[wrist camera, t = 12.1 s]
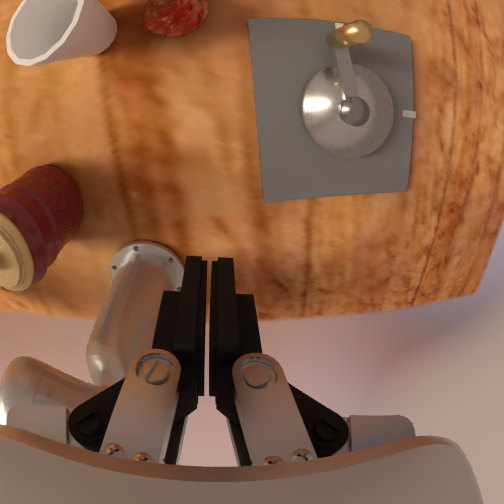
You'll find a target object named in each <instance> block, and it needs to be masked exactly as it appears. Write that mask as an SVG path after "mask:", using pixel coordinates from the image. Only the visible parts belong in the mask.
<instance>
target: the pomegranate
mask: <svg viewBox="0 0 504 504" xmlns="http://www.w3.org/2000/svg"><path fill="white" fill-rule="evenodd" d="M208 8H209V6H208V3H207V1H206V0H149V1H148V3H147V5H146V7H145V12H144V24H145V26H146V27H147V28H148V29H149V30H150V31H151V32H152V33H155V34H162V35H164V37H166V38H177V37H181V36H184V35H186V34H187V33H191V32H193V31H195V30H196V29H198V28H199V26H200V25H201V24H202V23H203V22H204V20H205V19H206V17H207V15H208Z"/></svg>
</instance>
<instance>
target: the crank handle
mask: <svg viewBox="0 0 504 504" xmlns="http://www.w3.org/2000/svg"><path fill="white" fill-rule="evenodd" d="M374 35H375V32H374V29H373V27H372V26H371V25H370V24H369V23H368V22H366V21H364V20H356V21H354V22H351V23H349V24H347V25H344V26H342V27H340V28H337V29H335V30H333V31H331V32H329V33H328V34H327V35H326V42H327V46H328V49H329V53H330V57H331V61H332V65H329V66H326V67H324V68H322V69H320V70H318V71H317V72H315V73H314V74H313V75H312V76H311V77H310V78H309V79H308V81H307V82H306V84H305V85H304V87H303V90H302V92H301V96H300V102H299V112H300V117H301V121H302V124H303V126H304V128H305V130H306V132H307V133H308V135H309V136H310V137H311V139H312V140H313V141H314V142H315V143H317V144H318V145H319V146H321V147H322V148H324V149H325V150H327V151H328V152H330V153H332V154H334V155H337V156H340V157H346V158H356V157H361V156H365V155H367V154H370V153H371V152H373V151H375V150H376V149H377V148H378V147H380V145H381V144H382V143H383V142H384V141H385V139H386V138H387V136H388V134H389V132H390V130H391V127H392V123H393V116H394V110H393V102H392V98H391V95H390V93H389V91H388V89H387V87H386V85H385V84H384V83H383V81H382V80H381V79H380V78H379V77H378V76H377V75H376V74H375V73H373V72H372V71H371V70H369V69H367V68H365V67H363V66H360V65H357V64H352V61H351V57H350V53H349V49H348V47H349V46H353V45H357V44H361V43H366V42H370V41H372V40H373V38H374Z"/></svg>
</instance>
